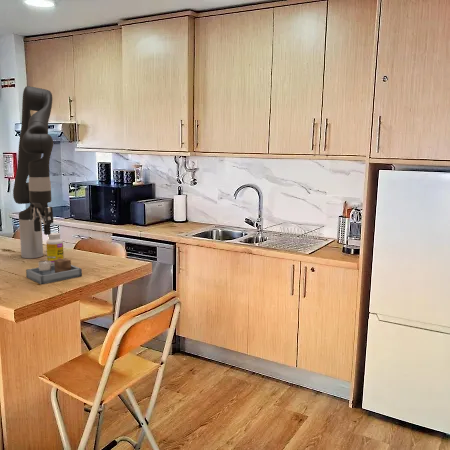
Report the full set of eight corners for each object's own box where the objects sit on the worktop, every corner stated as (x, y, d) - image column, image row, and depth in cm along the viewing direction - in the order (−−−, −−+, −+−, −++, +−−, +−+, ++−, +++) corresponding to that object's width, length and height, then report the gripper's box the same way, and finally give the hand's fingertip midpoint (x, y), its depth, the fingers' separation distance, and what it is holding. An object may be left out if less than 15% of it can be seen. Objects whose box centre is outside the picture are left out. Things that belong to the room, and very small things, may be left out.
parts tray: (26, 277, 181) (26, 269, 180) (66, 269, 192) (65, 262, 192) (41, 284, 172) (40, 276, 171) (81, 276, 183) (81, 268, 182)
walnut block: (65, 270, 187) (65, 258, 186) (71, 272, 184) (70, 260, 183) (54, 272, 184) (54, 260, 183) (60, 274, 181) (59, 262, 180)
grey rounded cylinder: (37, 275, 179) (36, 261, 178) (48, 273, 182) (47, 259, 181) (42, 278, 176) (41, 263, 175) (53, 276, 179) (52, 261, 178)
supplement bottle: (58, 265, 199) (57, 235, 197) (44, 264, 200) (42, 234, 198) (66, 261, 205) (65, 232, 203) (53, 260, 207) (51, 231, 205)
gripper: (58, 190, 171) (60, 234, 174) (41, 187, 181) (43, 229, 184) (38, 191, 166) (40, 237, 169) (21, 188, 176) (24, 231, 179)
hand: (42, 232), depth 177 cm, fingers open, 8 cm apart
